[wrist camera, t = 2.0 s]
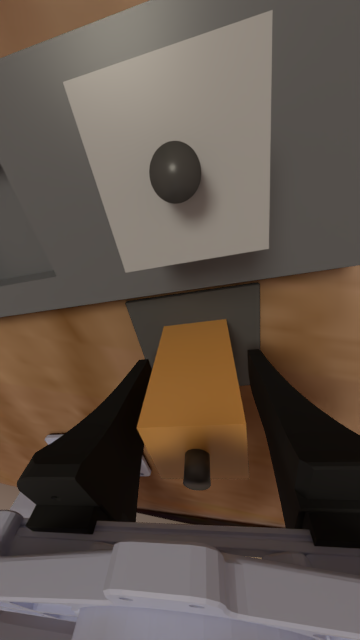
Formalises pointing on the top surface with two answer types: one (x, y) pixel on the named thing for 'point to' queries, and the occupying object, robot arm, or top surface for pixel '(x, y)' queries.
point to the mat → (202, 319)
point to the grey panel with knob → (180, 151)
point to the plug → (195, 407)
